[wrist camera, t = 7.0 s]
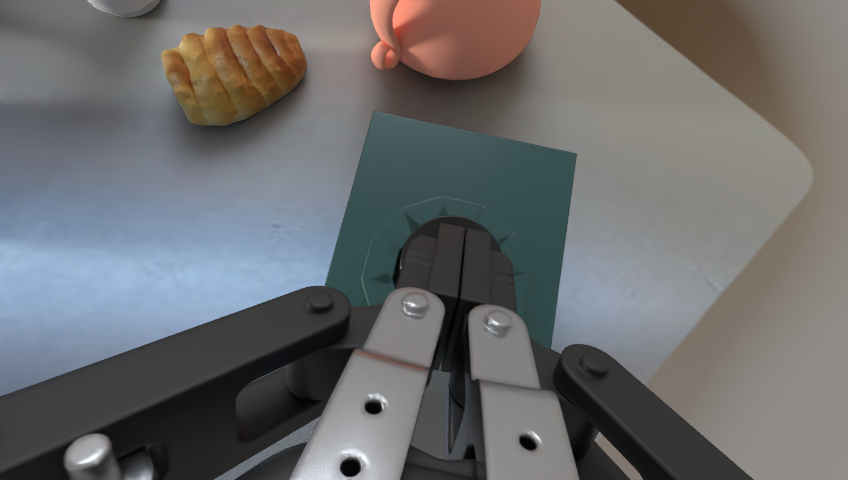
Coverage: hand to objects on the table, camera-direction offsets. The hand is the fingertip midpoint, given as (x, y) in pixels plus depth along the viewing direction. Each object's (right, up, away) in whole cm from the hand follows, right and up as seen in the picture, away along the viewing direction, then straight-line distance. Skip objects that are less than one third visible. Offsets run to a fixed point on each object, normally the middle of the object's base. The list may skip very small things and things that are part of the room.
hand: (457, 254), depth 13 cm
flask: (0, -2, +16) cm, 16 cm away
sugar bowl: (+1, +16, +21) cm, 27 cm away
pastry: (-15, +12, +20) cm, 28 cm away
